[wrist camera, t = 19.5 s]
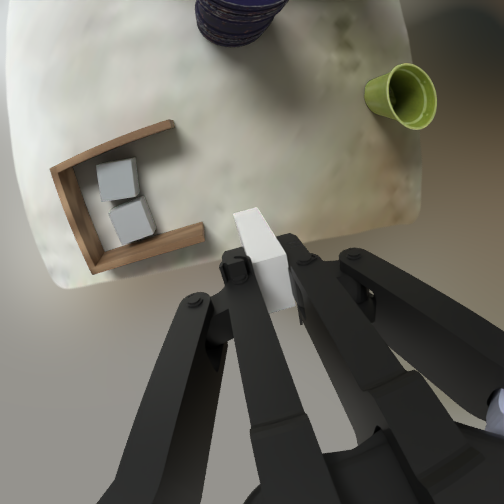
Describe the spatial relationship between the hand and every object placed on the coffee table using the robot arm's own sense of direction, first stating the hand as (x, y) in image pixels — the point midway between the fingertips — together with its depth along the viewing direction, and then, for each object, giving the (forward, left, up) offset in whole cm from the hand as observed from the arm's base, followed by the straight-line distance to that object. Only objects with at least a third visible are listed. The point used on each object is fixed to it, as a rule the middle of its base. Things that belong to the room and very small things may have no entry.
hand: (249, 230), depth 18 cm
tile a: (-4, -14, -23) cm, 27 cm away
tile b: (+3, -14, -23) cm, 27 cm away
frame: (-1, -13, -23) cm, 26 cm away
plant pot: (-7, +26, -23) cm, 36 cm away
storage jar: (-22, +6, -23) cm, 33 cm away
